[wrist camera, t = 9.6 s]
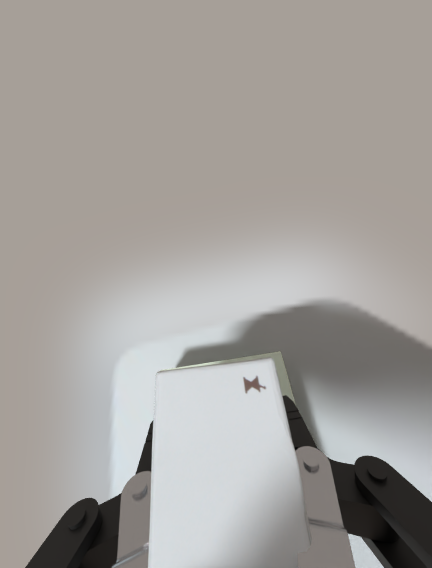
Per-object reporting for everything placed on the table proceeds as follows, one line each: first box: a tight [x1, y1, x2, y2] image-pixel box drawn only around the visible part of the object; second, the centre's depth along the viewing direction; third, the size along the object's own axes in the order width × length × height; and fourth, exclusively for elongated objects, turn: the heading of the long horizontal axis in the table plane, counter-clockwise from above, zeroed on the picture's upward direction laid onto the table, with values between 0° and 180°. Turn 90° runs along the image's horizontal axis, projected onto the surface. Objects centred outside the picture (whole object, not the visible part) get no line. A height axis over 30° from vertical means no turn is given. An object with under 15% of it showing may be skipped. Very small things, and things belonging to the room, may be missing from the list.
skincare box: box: [148, 357, 312, 568], centre depth 11 cm, size 6×4×12 cm
